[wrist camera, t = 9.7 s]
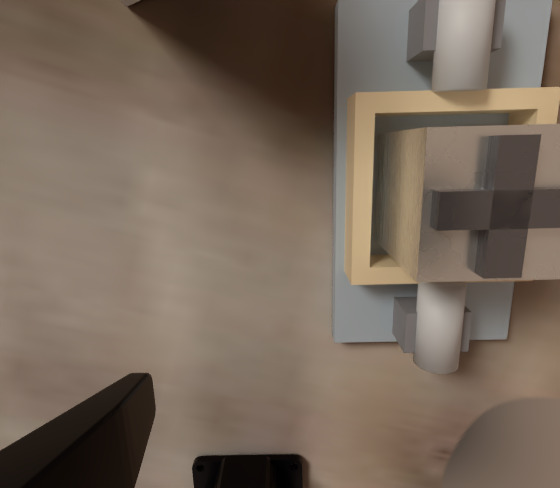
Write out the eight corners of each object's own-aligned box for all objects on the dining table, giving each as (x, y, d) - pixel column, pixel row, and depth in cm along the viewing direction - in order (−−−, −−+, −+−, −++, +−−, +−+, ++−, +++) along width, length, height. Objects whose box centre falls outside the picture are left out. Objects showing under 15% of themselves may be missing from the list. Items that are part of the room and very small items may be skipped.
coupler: (488, 131, 17) (609, 121, 11) (477, 237, 19) (580, 285, 12) (378, 133, 17) (435, 126, 11) (374, 240, 19) (423, 288, 12)
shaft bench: (496, 330, 21) (545, 372, 17) (331, 333, 21) (343, 376, 17) (537, 1, 17) (613, -42, 13) (335, 7, 17) (350, -34, 13)
